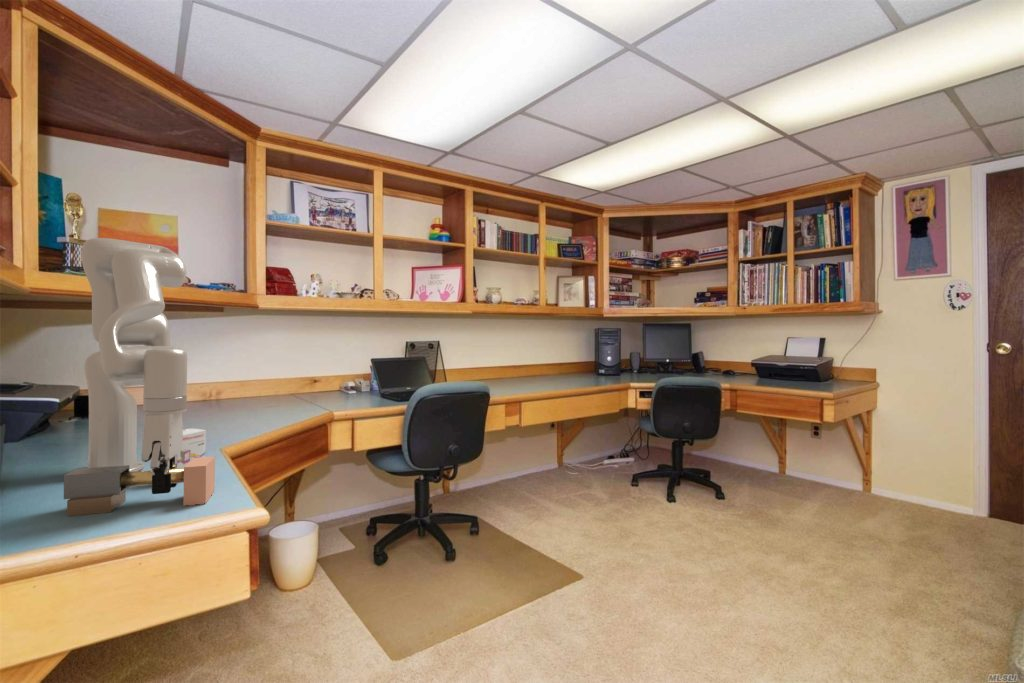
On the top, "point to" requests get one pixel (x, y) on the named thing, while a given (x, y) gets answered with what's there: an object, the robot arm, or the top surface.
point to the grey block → (94, 490)
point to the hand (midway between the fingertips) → (164, 489)
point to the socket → (199, 480)
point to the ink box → (191, 446)
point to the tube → (148, 477)
